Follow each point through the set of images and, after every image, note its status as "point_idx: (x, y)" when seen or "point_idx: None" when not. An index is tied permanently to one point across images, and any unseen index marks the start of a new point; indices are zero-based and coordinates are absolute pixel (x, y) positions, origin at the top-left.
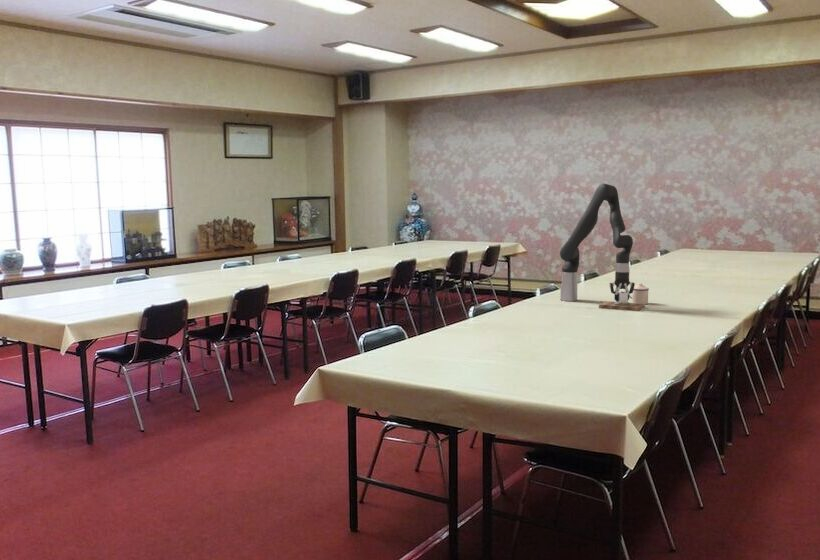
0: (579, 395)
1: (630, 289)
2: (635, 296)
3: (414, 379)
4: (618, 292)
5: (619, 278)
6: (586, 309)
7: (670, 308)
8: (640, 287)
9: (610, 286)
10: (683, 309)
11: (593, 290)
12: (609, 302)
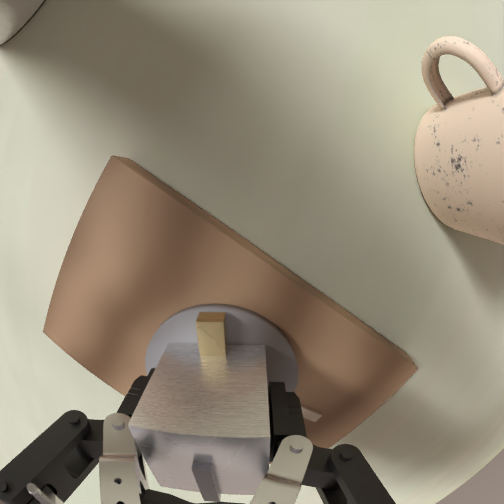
0: None
1: (346, 486)
2: (467, 196)
3: None
4: (153, 464)
5: None
6: (10, 333)
7: (484, 376)
8: None
9: (24, 470)
10: (497, 393)
11: None
12: (125, 245)
